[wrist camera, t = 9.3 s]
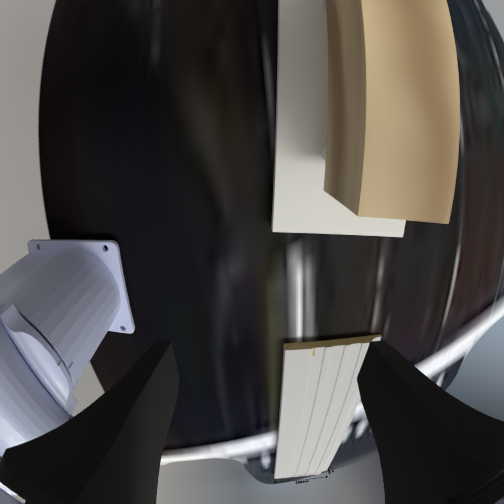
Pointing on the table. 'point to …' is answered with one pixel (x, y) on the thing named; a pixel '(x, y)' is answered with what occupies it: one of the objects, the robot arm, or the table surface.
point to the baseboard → (317, 402)
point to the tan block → (392, 108)
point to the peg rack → (308, 131)
